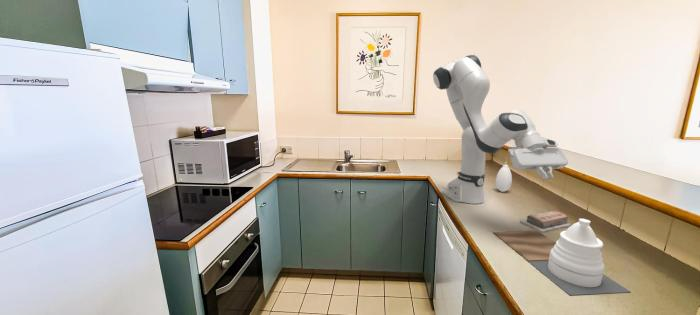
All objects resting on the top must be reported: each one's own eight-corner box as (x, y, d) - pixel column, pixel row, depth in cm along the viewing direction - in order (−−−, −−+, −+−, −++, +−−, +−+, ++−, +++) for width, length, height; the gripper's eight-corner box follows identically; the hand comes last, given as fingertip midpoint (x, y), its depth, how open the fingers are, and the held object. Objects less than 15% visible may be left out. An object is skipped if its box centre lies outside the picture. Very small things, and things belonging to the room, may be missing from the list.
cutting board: (493, 233, 112) (493, 231, 112) (536, 231, 113) (536, 230, 113) (528, 262, 92) (528, 260, 92) (580, 259, 94) (580, 258, 94)
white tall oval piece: (498, 188, 167) (501, 158, 163) (512, 191, 161) (516, 160, 157) (492, 191, 162) (495, 160, 158) (506, 194, 156) (510, 162, 152)
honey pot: (604, 293, 77) (618, 232, 74) (547, 276, 84) (557, 220, 81) (597, 270, 88) (609, 215, 84) (547, 257, 95) (556, 206, 91)
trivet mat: (528, 262, 92) (528, 261, 92) (580, 259, 94) (580, 259, 94) (569, 295, 77) (569, 295, 77) (630, 292, 78) (630, 291, 78)
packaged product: (550, 207, 127) (574, 216, 118) (548, 217, 128) (572, 227, 119) (520, 212, 121) (543, 222, 112) (519, 223, 122) (541, 233, 113)
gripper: (511, 142, 103) (528, 175, 96) (560, 141, 107) (579, 173, 99) (501, 151, 109) (517, 183, 101) (548, 150, 112) (566, 181, 105)
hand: (548, 178), depth 100 cm, fingers closed
